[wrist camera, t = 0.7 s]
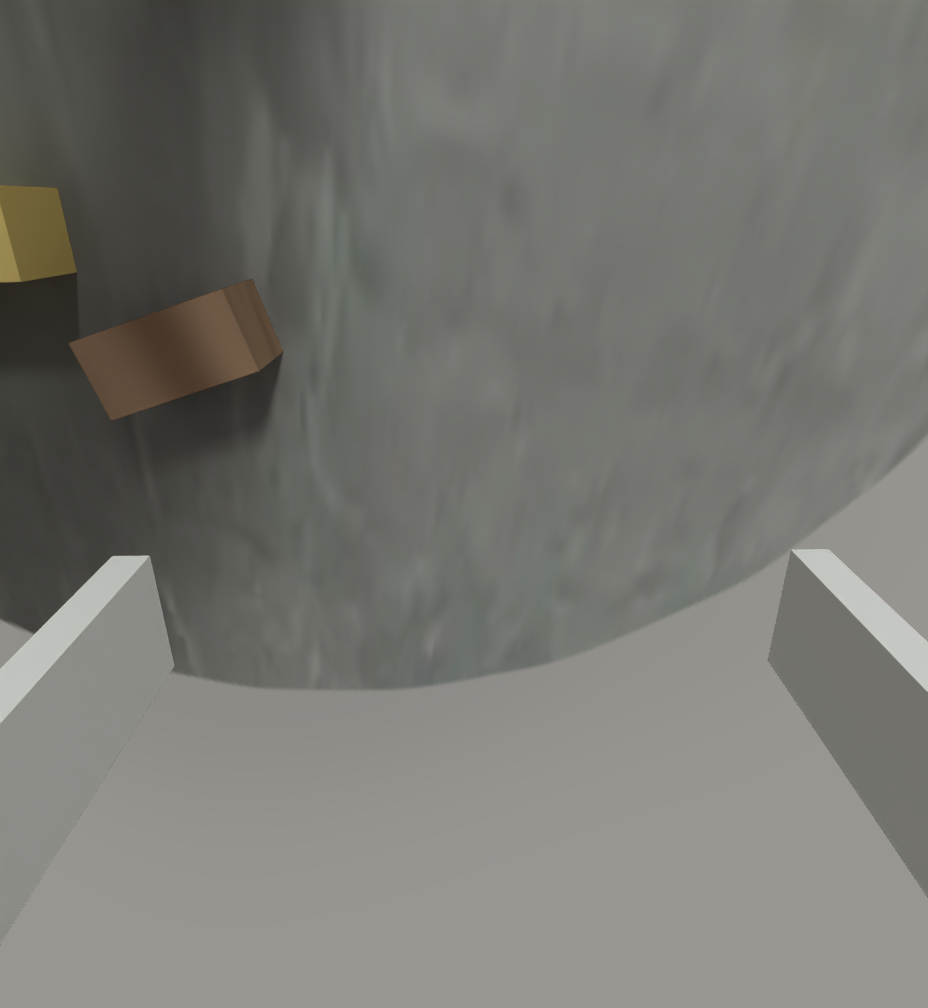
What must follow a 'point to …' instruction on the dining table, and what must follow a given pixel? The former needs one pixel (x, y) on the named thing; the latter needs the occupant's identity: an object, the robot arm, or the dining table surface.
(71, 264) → the mustard brick
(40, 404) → the dining table surface
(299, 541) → the dining table surface
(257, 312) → the walnut brick
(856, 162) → the dining table surface
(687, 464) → the dining table surface
